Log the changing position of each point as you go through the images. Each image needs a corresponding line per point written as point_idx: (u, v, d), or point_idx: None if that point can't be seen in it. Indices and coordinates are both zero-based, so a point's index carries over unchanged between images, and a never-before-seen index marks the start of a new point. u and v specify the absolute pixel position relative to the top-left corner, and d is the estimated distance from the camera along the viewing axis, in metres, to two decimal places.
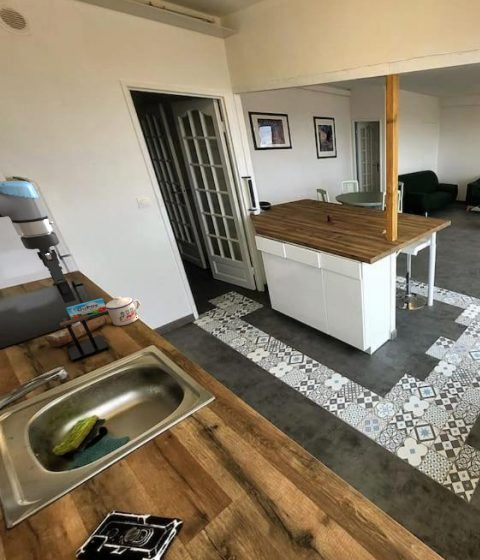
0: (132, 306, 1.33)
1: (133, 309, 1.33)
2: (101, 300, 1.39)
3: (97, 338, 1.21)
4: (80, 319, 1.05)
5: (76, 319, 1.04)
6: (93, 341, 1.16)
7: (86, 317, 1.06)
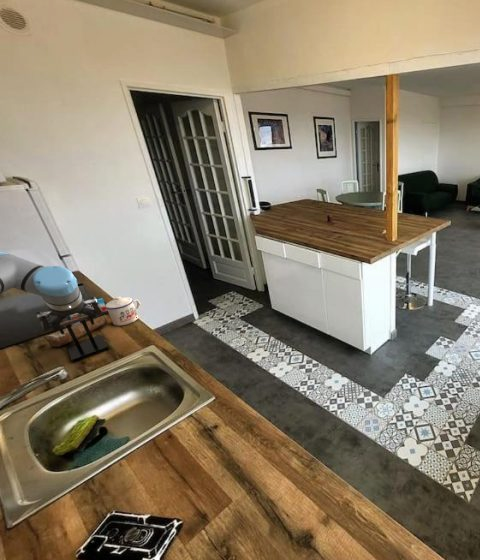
0: (132, 306, 1.33)
1: (133, 309, 1.33)
2: (101, 300, 1.39)
3: (97, 338, 1.21)
4: (80, 319, 1.05)
5: (76, 319, 1.04)
6: (93, 341, 1.16)
7: (86, 317, 1.06)
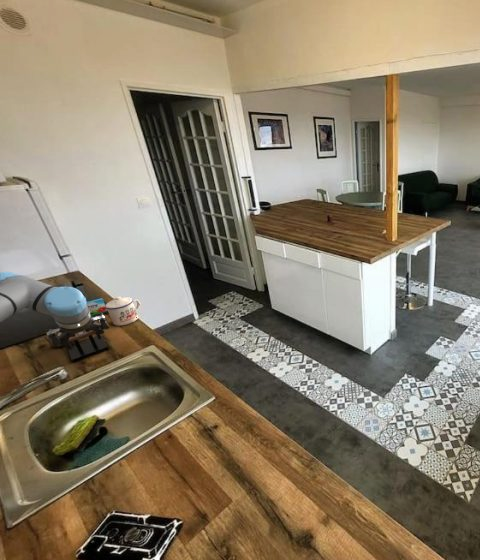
0: (132, 306, 1.33)
1: (133, 309, 1.33)
2: (101, 300, 1.39)
3: (97, 338, 1.21)
4: (88, 335, 1.06)
5: (84, 335, 1.06)
6: (93, 341, 1.16)
7: (94, 333, 1.08)
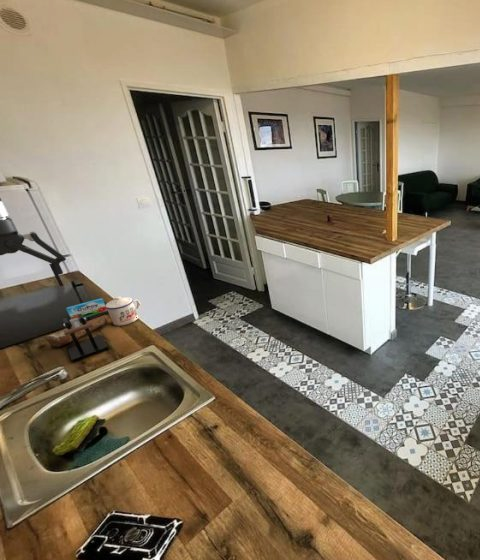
0: (132, 306, 1.33)
1: (133, 309, 1.33)
2: (101, 300, 1.39)
3: (97, 338, 1.21)
4: (84, 327, 1.05)
5: (80, 327, 1.05)
6: (93, 341, 1.16)
7: (90, 325, 1.06)
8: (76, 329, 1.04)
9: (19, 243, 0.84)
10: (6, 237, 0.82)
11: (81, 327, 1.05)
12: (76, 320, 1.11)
